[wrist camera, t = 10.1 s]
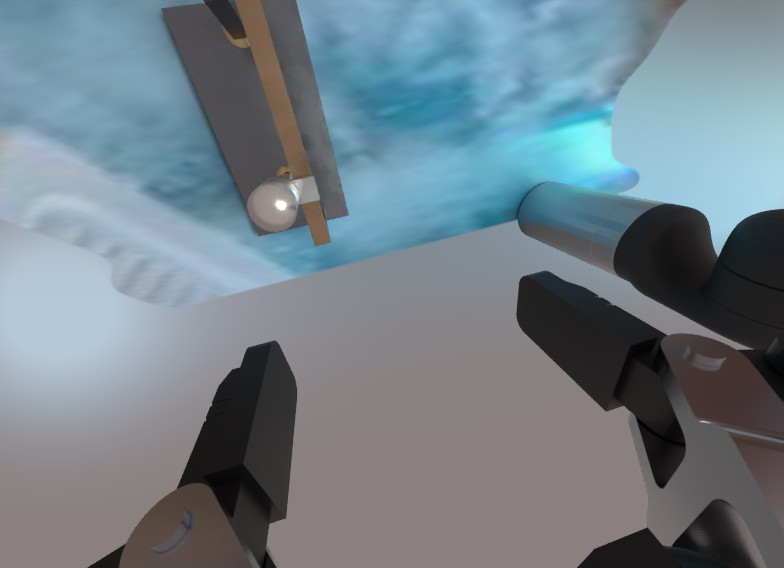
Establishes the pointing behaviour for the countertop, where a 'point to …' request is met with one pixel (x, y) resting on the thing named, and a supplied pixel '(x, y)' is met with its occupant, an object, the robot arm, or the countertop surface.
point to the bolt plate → (261, 98)
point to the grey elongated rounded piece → (280, 200)
